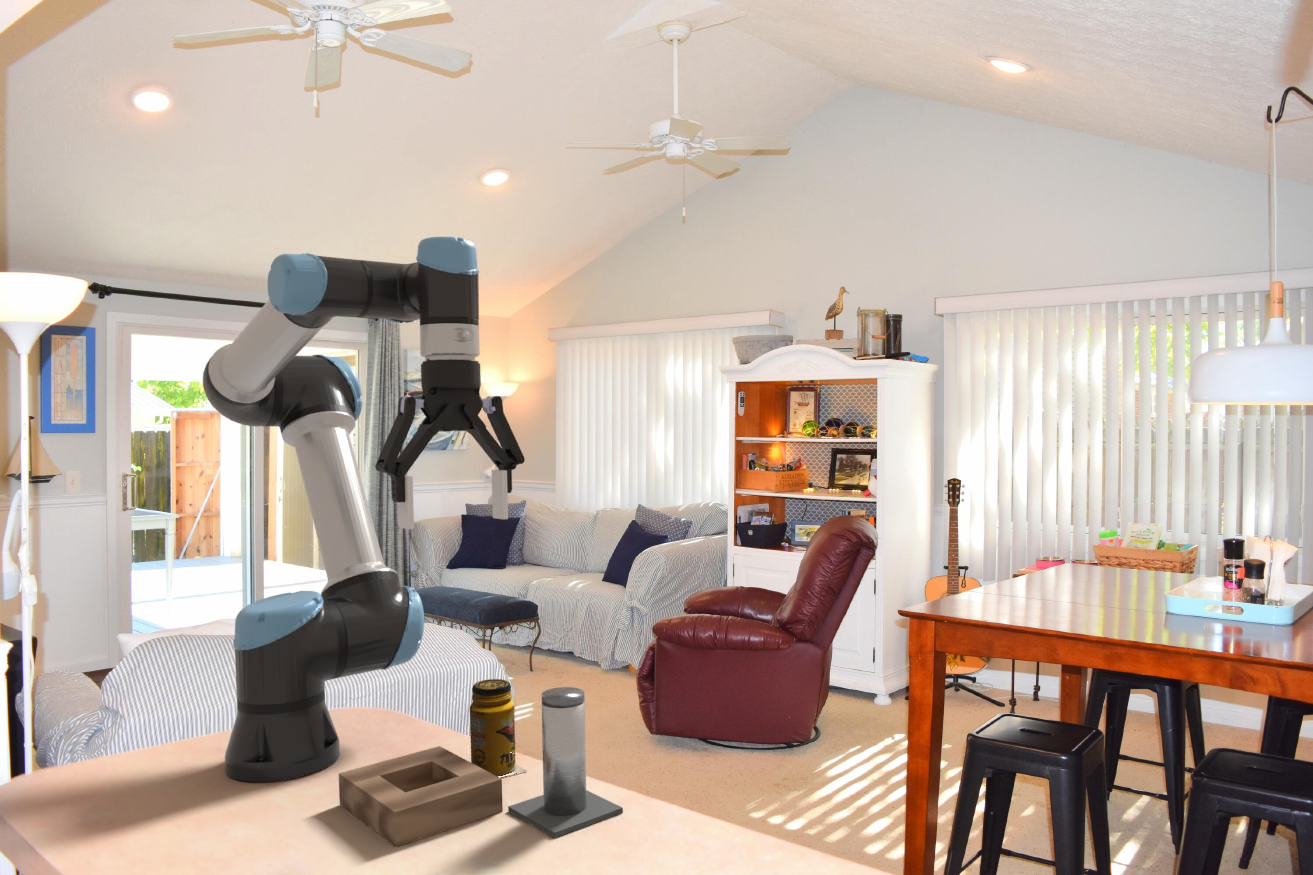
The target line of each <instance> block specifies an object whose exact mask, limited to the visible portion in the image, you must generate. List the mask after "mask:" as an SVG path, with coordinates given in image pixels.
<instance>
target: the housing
mask: <svg viewBox="0 0 1313 875" xmlns="http://www.w3.org/2000/svg"><path fill="white" fill-rule="evenodd" d="M338 788H339V789H338V791H339V792H338V794H339V795H338V797H339V798H338V799H339V806H341V807H342V808H344V809H345V811H347V812H349V813H350V814H351V815H352V816H354V817H356V818H357V819H358V820H359V821H360V822H362V823H363V824H364V825H366V826H367V827H369V829H371V830H372V831H374V832H375V833H377V834H378V835H379V836H380V837H382V838H383V839H385V841H387V842H389V843H390V844H391V845H393V847H394V848H397V847H400V846H403V845H406V844H409V843H412V842H416V841H418V840H421V839H424V838H428V837H430V836H433V835H436V834H439V833H442V832H445V831H448V830H451V829H454V828H457V827H460V826H463V825H466V824H469V823H471V822H474V821H478V820H481V819H483V818H487V817H489V816H492V815H496V814H499V813H502V812H503V811H504V810H503V809H504V808H503V778H499V777H497V776H495V775H493V774H491V773H490V772H488V771H486V770H484V769H482V768H480V767H478V766H476V765H474V764H473V763H471V761H469V760H467V759H465V758H463V757H462V756H459V755H458V754H455V753H453V752H451V751H450V750H448V749H446V748H444V747H442V746H440V745H438V746H434V747H431V748H427V749H424V750H420V751H417V752H413V753H409V754H405V755H401V756H398V757H393V758H390V759H387V760H383V761H382V760H381V761H380V762H376V763H372V764H368V765H365V766H360V767H358V768H357V767H356V768H353V769H350V770H349V769H348V770H346V771H343V772H339V773H338Z"/></svg>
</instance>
